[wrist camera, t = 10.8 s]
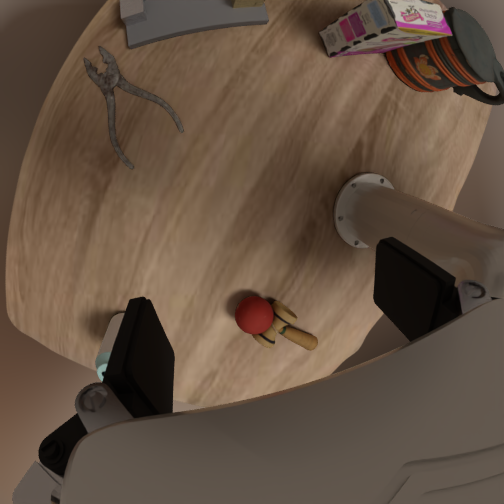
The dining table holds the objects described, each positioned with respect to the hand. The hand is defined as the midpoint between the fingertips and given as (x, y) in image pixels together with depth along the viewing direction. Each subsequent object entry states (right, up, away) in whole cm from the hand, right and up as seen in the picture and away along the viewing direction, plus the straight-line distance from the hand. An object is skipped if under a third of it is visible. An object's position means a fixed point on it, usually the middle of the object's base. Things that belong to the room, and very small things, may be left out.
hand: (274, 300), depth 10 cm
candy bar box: (+15, +34, +20) cm, 42 cm away
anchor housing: (-17, +34, +12) cm, 40 cm away
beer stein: (+30, +36, +22) cm, 51 cm away
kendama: (+4, -10, +37) cm, 38 cm away
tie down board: (-9, +37, +14) cm, 40 cm away
